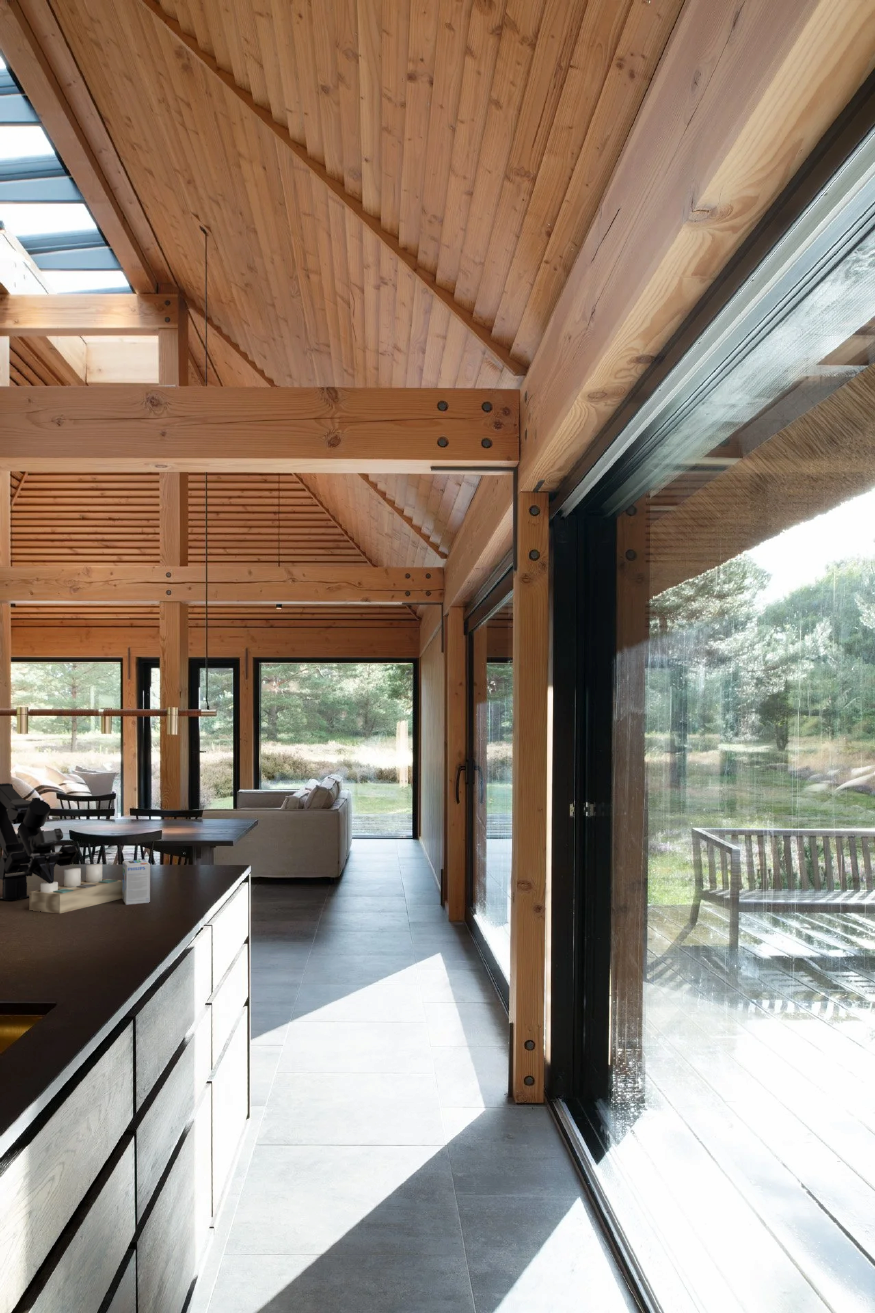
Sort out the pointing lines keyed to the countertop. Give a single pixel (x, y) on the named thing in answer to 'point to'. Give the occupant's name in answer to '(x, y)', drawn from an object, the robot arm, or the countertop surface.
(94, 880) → the button
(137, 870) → the light bulb box
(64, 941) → the countertop surface
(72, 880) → the button
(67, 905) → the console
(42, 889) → the button
